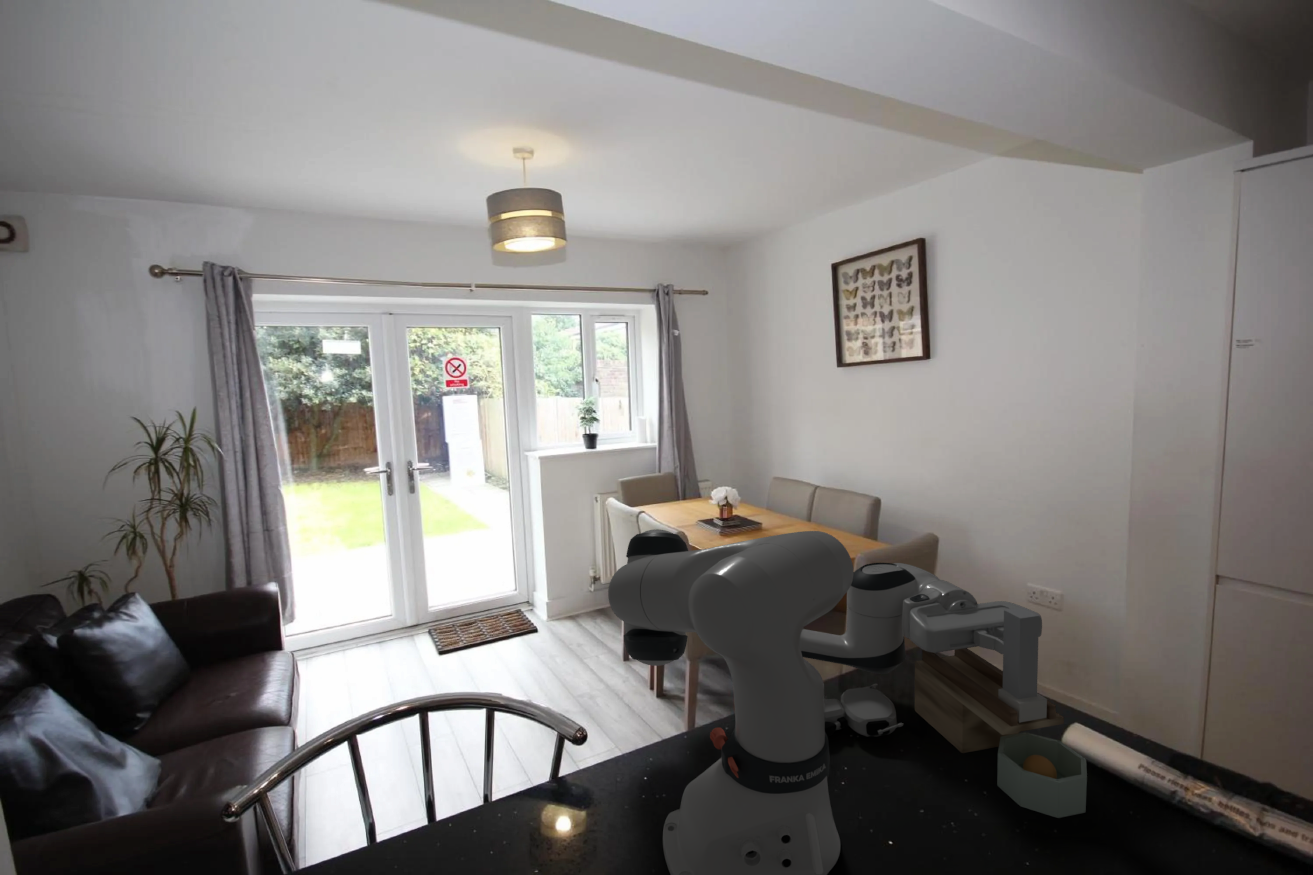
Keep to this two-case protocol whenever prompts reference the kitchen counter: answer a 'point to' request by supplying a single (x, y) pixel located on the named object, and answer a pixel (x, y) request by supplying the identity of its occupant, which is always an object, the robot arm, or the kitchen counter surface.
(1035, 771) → the ball
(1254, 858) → the kitchen counter surface
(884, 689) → the kitchen counter surface
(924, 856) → the kitchen counter surface
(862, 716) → the robot toy
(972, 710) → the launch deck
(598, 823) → the kitchen counter surface
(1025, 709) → the tall post on base
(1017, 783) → the green octagonal bowl
